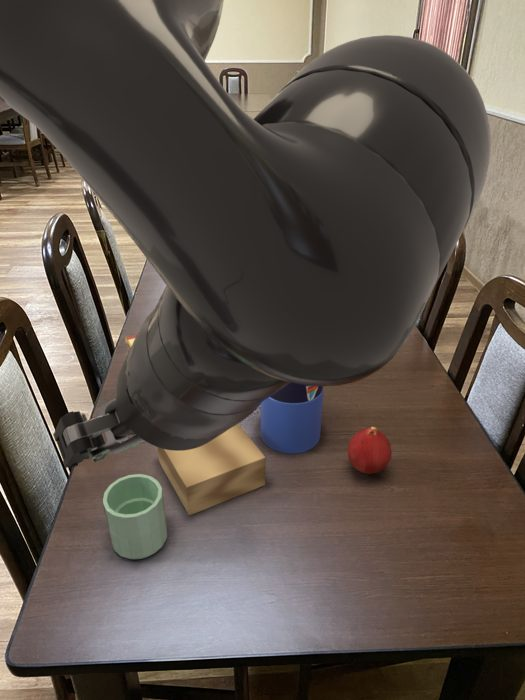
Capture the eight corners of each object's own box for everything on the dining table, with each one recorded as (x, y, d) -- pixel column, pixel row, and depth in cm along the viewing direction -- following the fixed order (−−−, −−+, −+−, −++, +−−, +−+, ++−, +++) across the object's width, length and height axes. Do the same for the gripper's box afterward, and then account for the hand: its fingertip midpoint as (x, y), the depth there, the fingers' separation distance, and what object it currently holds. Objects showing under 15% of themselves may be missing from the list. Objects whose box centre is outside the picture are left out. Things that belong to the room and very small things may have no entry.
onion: (339, 460, 76) (343, 416, 72) (376, 454, 77) (383, 409, 73) (355, 490, 71) (361, 444, 67) (394, 482, 73) (403, 437, 68)
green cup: (121, 571, 61) (112, 525, 57) (106, 530, 65) (96, 486, 62) (175, 548, 63) (170, 503, 59) (157, 510, 68) (150, 467, 64)
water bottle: (332, 430, 82) (346, 278, 69) (297, 463, 76) (305, 303, 63) (283, 407, 87) (287, 261, 74) (246, 436, 81) (244, 283, 68)
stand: (189, 516, 67) (186, 487, 65) (159, 462, 76) (155, 435, 73) (265, 485, 72) (265, 457, 69) (229, 437, 80) (228, 411, 78)
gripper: (273, 284, 34) (203, 362, 48) (42, 347, 28) (40, 416, 42) (322, 392, 33) (236, 440, 47) (93, 485, 26) (73, 508, 40)
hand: (144, 429), depth 44 cm, fingers open, 8 cm apart
